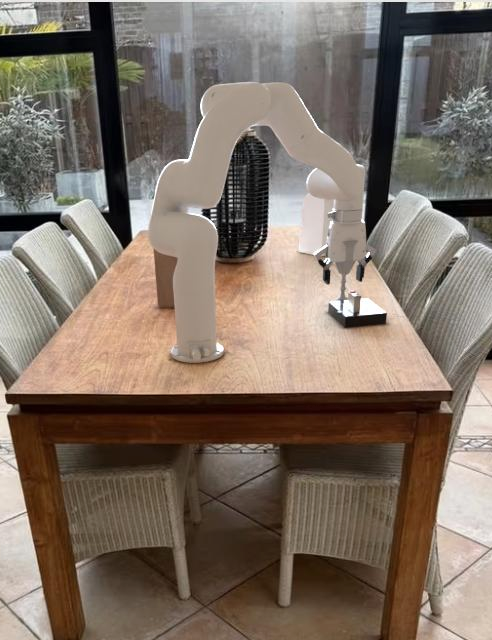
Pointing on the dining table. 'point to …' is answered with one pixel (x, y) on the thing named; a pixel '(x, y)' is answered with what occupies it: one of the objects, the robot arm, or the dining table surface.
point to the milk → (314, 224)
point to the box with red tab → (354, 301)
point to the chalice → (345, 267)
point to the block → (164, 279)
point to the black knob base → (357, 314)
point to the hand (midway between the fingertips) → (343, 281)
